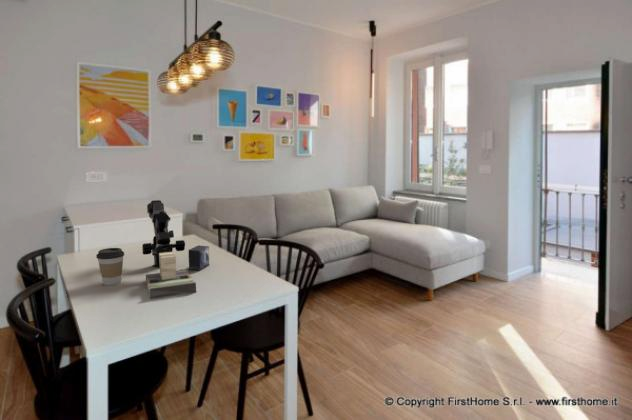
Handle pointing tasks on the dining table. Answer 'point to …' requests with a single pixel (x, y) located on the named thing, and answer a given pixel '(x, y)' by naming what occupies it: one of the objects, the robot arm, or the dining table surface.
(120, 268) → the coffee cup
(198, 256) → the small box
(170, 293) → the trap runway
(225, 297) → the dining table surface
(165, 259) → the birch block
